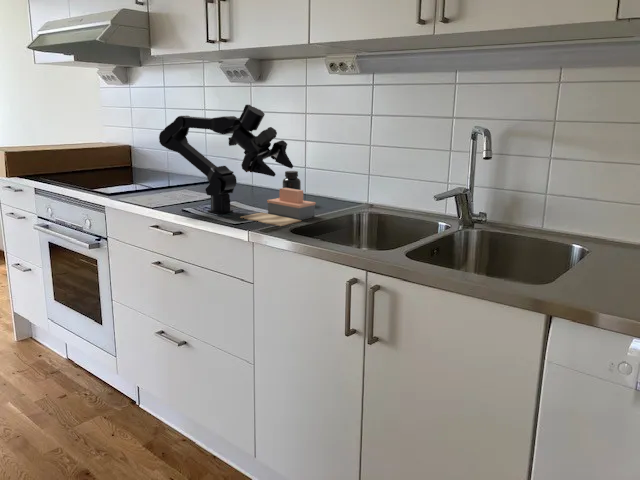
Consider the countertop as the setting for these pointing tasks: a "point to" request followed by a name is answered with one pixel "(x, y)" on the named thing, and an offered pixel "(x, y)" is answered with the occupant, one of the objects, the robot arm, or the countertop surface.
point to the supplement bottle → (292, 180)
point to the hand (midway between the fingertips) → (283, 171)
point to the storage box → (291, 211)
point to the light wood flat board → (271, 219)
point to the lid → (291, 198)
